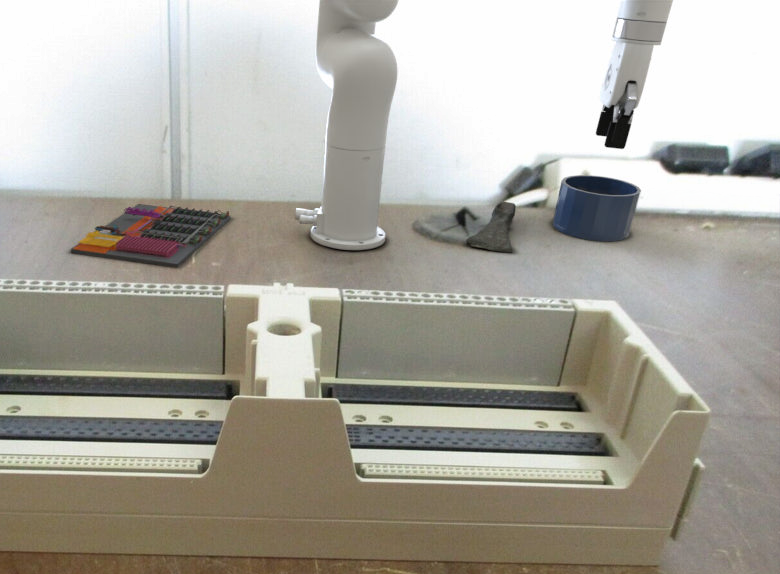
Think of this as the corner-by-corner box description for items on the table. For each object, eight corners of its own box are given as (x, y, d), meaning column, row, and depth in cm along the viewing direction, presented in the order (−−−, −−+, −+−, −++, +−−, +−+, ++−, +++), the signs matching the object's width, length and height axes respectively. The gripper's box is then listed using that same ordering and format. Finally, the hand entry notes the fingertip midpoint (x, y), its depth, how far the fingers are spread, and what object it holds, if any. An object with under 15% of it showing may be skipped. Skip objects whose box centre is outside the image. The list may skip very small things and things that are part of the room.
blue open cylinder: (556, 236, 134) (566, 191, 130) (549, 214, 146) (558, 172, 142) (635, 244, 132) (647, 199, 128) (621, 221, 144) (633, 179, 140)
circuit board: (177, 267, 115) (177, 250, 113) (71, 252, 118) (69, 235, 117) (230, 218, 136) (230, 203, 134) (138, 206, 139) (137, 191, 138)
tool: (509, 261, 126) (514, 244, 125) (463, 250, 128) (467, 234, 126) (523, 214, 142) (527, 198, 140) (482, 205, 144) (486, 189, 142)
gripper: (605, 26, 130) (580, 129, 139) (623, 35, 116) (594, 150, 124) (651, 30, 129) (622, 134, 138) (675, 39, 115) (642, 155, 123)
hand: (609, 141), depth 131 cm, fingers open, 9 cm apart
